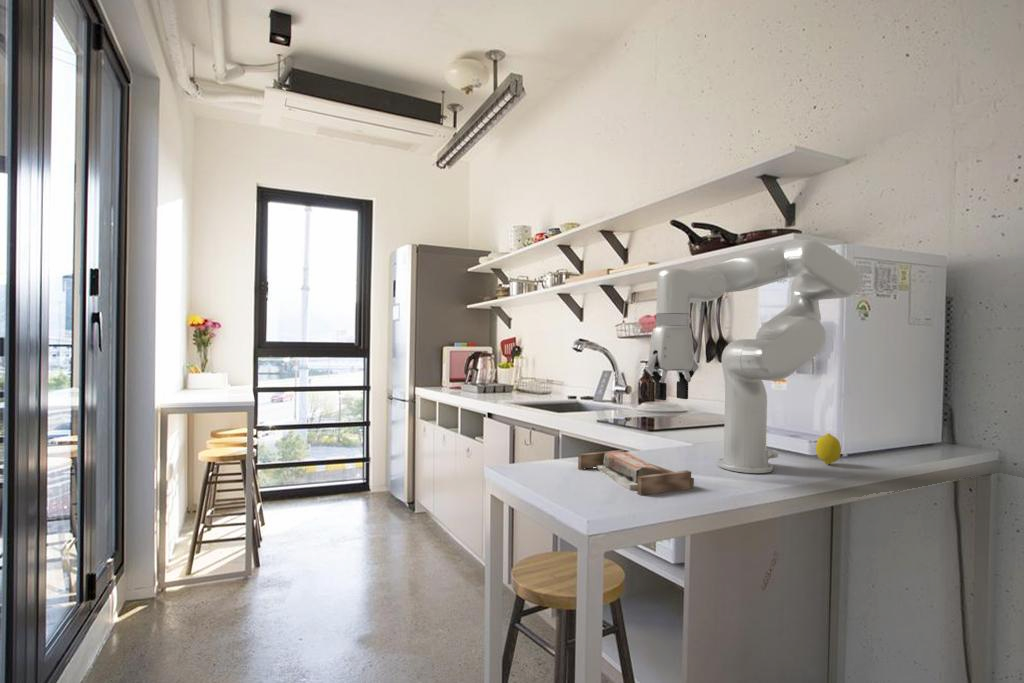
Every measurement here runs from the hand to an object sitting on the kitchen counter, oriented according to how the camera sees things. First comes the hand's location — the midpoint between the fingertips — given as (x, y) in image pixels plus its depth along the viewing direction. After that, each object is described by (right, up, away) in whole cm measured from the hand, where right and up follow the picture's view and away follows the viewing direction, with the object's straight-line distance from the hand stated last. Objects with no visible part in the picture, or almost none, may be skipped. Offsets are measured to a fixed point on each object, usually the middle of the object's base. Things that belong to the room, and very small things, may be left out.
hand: (671, 398), depth 125 cm
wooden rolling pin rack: (-10, -17, -5) cm, 21 cm away
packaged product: (-10, -18, -5) cm, 21 cm away
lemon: (+43, -18, +11) cm, 48 cm away
